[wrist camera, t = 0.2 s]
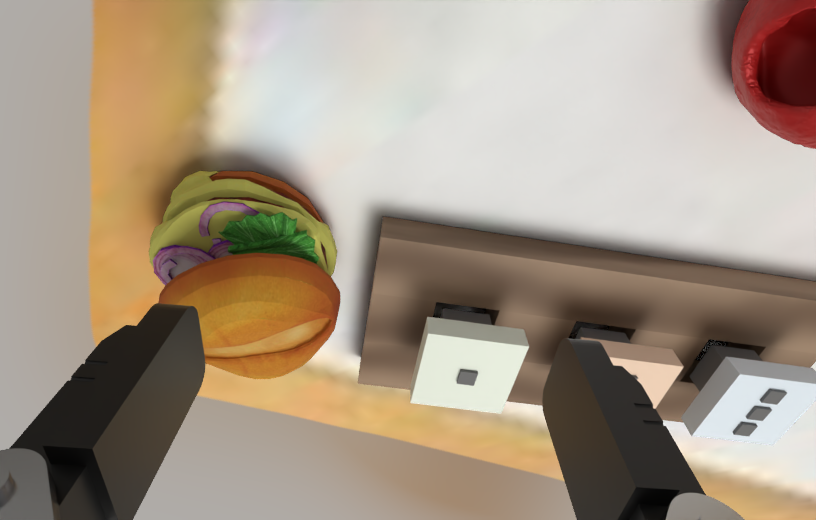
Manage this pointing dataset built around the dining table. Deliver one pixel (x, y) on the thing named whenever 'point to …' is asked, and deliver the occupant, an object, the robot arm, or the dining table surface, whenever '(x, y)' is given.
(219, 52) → the dining table surface
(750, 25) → the pomegranate
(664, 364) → the key two
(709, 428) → the key three
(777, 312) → the key board
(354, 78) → the dining table surface
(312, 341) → the cheeseburger
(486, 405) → the key one
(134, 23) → the dining table surface
